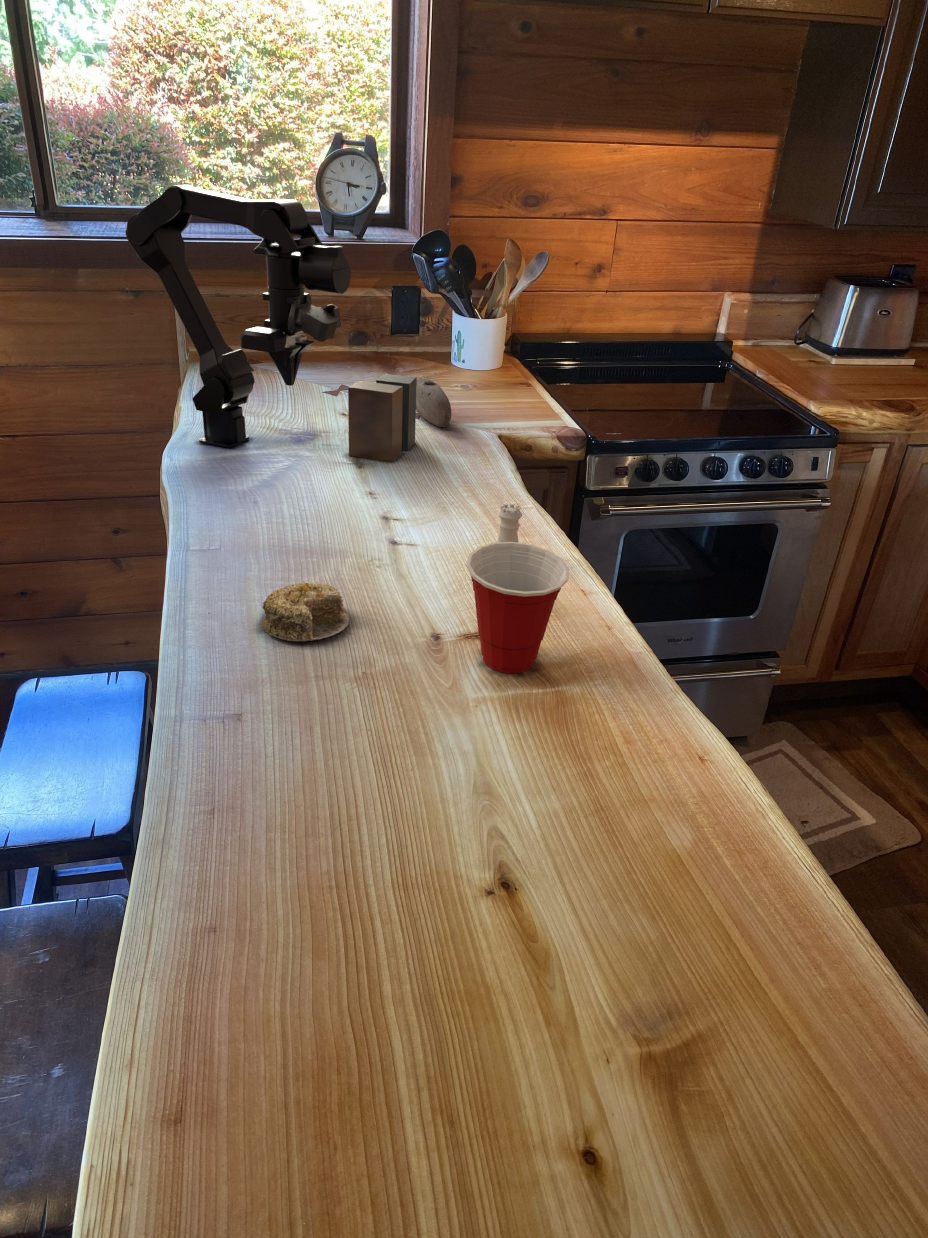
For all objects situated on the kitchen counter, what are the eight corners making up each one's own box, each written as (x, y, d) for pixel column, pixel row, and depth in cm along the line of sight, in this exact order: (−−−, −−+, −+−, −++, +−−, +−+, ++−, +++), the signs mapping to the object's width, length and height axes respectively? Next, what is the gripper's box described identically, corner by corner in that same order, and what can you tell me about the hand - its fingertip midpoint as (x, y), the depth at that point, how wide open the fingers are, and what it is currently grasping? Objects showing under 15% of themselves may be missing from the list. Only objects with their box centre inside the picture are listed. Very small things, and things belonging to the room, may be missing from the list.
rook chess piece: (527, 560, 123) (532, 505, 119) (515, 572, 119) (520, 516, 115) (497, 552, 124) (501, 498, 121) (484, 564, 121) (488, 509, 117)
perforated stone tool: (458, 431, 172) (460, 395, 169) (432, 433, 171) (434, 397, 167) (433, 410, 185) (434, 376, 181) (409, 411, 183) (409, 377, 180)
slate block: (375, 446, 162) (376, 379, 156) (383, 438, 166) (384, 373, 161) (407, 450, 161) (409, 383, 155) (415, 442, 165) (416, 376, 160)
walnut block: (348, 455, 157) (347, 386, 151) (360, 447, 161) (359, 380, 156) (391, 462, 155) (392, 392, 149) (401, 453, 159) (403, 386, 154)
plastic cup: (490, 697, 93) (498, 593, 87) (443, 647, 101) (448, 550, 95) (577, 675, 97) (591, 575, 92) (526, 629, 106) (535, 535, 100)
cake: (245, 637, 102) (238, 594, 99) (291, 602, 110) (286, 561, 108) (322, 651, 98) (317, 607, 96) (364, 613, 107) (361, 572, 104)
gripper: (299, 300, 133) (302, 405, 140) (358, 284, 148) (359, 380, 156) (235, 292, 136) (242, 394, 144) (299, 277, 152) (303, 371, 159)
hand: (289, 384), depth 150 cm, fingers closed
